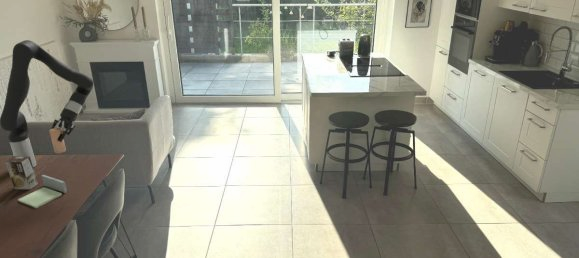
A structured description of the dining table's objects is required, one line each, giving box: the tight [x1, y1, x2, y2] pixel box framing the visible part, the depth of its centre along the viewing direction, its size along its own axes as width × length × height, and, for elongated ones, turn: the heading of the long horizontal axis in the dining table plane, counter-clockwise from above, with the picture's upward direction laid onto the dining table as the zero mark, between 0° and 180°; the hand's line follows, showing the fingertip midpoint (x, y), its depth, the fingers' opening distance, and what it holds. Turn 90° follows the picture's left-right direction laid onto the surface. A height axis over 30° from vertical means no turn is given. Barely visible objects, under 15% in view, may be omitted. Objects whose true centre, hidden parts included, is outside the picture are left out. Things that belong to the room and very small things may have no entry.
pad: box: [17, 186, 62, 209], centre depth 193 cm, size 14×13×1 cm
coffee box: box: [4, 155, 39, 190], centre depth 201 cm, size 9×6×16 cm
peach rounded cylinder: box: [48, 127, 67, 154], centre depth 201 cm, size 5×5×12 cm
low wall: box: [41, 174, 68, 194], centre depth 201 cm, size 17×1×6 cm, turn 63°
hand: (55, 140), depth 200 cm, fingers closed on peach rounded cylinder, 5 cm apart
